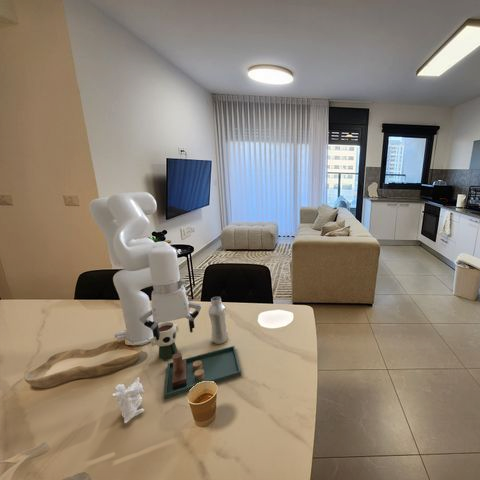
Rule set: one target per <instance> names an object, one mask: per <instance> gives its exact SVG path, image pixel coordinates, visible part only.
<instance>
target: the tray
mask: <svg viewBox="0 0 480 480" xmlns="http://www.w3.org/2000/svg"><path fill="white" fill-rule="evenodd" d="M182 359H183V360H186V363H187V386H186V387H182V388H179V389H176V390H173V386H172V376H173V361H172V362H168V363H167V368H166V377H165V384H164V385H165V386H164V399H165V400H167V399H170V398H173V397H176V396H180V395H182V394H186V393H189V392H190V391H189V390H190V389H191V388H192V387H193V386H195V385H196V384H197V383H199V382H202V381H214V382H215V383H214V384H217V383H221V382H224V381H227V380H230V379H233V378H236V377H239V376H242V370H241V367H240V363H239V358H238V355H237V351H236V347H235V345H231V346H228V347H224V348H220V349H216V350H212V351H209V352H205V353H201V354H197V355H194V356H190V357H187V358H182ZM198 360H200V361H202V368H201V369H203V370H204V378H203V379H201V380H196V379H195V375H194V373H195V371H194V370H193V363H194V362H195V361H198Z"/></svg>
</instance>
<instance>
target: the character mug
mask: <svg viewBox="0 0 480 480" xmlns="http://www.w3.org/2000/svg"><path fill="white" fill-rule="evenodd" d="M158 327H159V332H160V337H159V340H157V341H156V337H153V338H151V340H150V341H151V342H150V346H151V347H155V346H157V347H158V359H160V360H162V361H168V360H171V359H173V358H172V356H173V355H174V354H176V353H179V352H178V351H179V350H178V348H177V345H176V340H177V338H178V334H177V333H179V331H180V327H179V324H178V323H174V322H173V321H167V322H162V323H159V324H158Z"/></svg>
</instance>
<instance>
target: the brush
mask: <svg viewBox="0 0 480 480" xmlns="http://www.w3.org/2000/svg"><path fill="white" fill-rule="evenodd" d="M171 359H172V362H173V376H172V386H173V390H176V389H179V388H182V387H186V386H187V363H186V360H183V359H184V358H183V353H181V352H177V353H176V354H174V355H173V356H172V358H171Z"/></svg>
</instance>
